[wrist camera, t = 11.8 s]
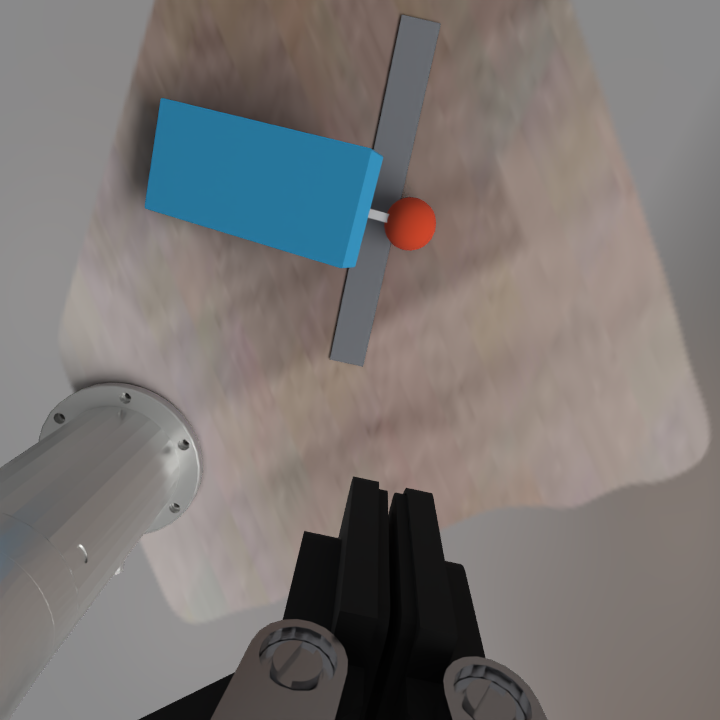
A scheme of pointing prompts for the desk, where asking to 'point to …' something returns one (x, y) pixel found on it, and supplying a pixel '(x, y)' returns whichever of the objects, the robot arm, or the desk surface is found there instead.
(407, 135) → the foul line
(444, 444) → the desk surface
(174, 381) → the desk surface
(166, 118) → the lever
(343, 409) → the desk surface
